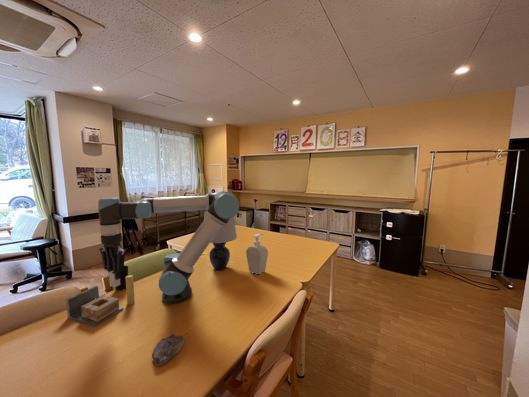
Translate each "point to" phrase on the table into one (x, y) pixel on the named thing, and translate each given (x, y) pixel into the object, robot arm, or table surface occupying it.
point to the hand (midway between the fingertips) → (115, 285)
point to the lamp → (222, 245)
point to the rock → (167, 349)
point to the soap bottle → (257, 256)
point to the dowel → (130, 289)
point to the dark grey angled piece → (82, 299)
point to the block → (100, 308)
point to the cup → (123, 279)
